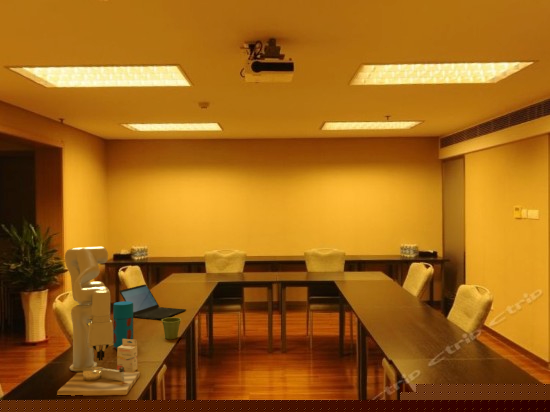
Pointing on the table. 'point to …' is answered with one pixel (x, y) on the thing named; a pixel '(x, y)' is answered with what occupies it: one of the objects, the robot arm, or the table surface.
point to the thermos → (122, 322)
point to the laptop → (147, 304)
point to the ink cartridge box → (127, 355)
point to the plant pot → (171, 327)
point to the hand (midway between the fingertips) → (100, 359)
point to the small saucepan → (103, 374)
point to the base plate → (98, 385)
